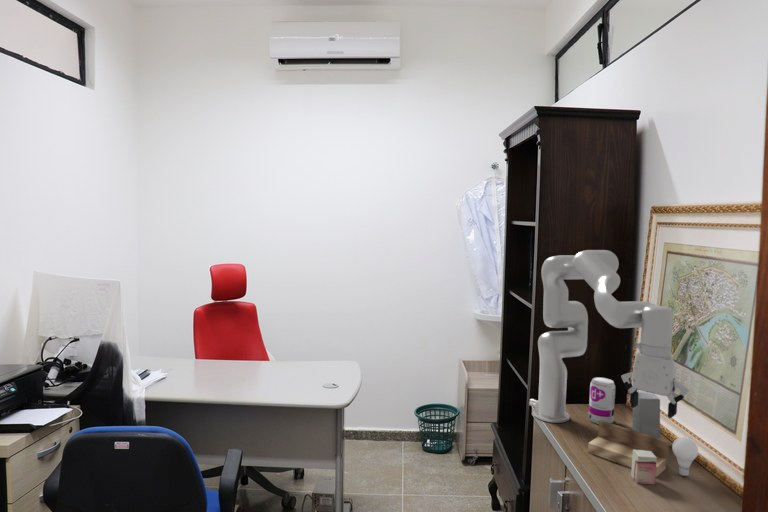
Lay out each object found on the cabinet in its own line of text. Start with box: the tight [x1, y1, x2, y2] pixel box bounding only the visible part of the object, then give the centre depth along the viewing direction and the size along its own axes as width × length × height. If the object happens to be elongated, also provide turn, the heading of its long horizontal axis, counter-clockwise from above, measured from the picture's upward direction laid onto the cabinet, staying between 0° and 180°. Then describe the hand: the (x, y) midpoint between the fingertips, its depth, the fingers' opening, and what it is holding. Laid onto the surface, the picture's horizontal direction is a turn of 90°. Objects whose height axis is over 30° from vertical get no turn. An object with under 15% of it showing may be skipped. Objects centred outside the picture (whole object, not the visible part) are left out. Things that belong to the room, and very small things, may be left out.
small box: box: [630, 450, 657, 485], centre depth 142 cm, size 5×4×8 cm
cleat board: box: [587, 420, 670, 478], centre depth 154 cm, size 20×8×8 cm, turn 44°
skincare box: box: [632, 390, 661, 438], centre depth 167 cm, size 8×7×16 cm
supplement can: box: [588, 376, 616, 425], centre depth 183 cm, size 8×8×15 cm
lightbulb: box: [671, 436, 699, 477], centre depth 145 cm, size 6×6×11 cm
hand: (652, 411), depth 141 cm, fingers open, 9 cm apart
